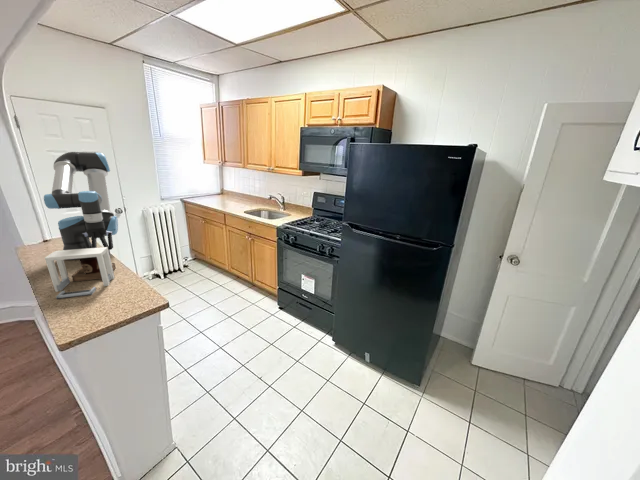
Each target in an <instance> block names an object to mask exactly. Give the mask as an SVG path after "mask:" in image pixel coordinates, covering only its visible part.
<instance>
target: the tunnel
mask: <svg viewBox="0 0 640 480" xmlns="http://www.w3.org/2000/svg"><path fill="white" fill-rule="evenodd" d="M103 256H104V257H103ZM89 257H97V260H98V264H99V268H100V272H101V277H102V279H101V280H102V283H103V287H106V286H107V287H108V286H110V284H111V282H110V281H111V280H114V279H115V272H114V271H113V268H112V263H113V262H112V260H111V254H110V255H109V250H108V247H104V246H101V248H98V247H97V248H87V249H73V250H63V249H62V250H60V249H59V250H55V251H53V252H51V253H50V254H48V255H47V256H45V257H44V260H45V263H46V266H47V269H48V272H49V276H50V279H51V281H52V285H53V288H54V292H61V291H63V289H65V287H67V286H68V285H69V284H70V283H71V281H70V278H69V274H68V271H67V267H66V263H65V259H77V258H89ZM77 260H78V259H77ZM104 260H105V262H104ZM55 261H56V264H57V266H56V264H55ZM105 264H106V266H105ZM57 267H58V268H57ZM106 268H107V269H106ZM57 269H58V270H57ZM58 271H59V274H58ZM107 273H108V274H107ZM59 275H60V276H59ZM60 277H61V280H60Z"/></svg>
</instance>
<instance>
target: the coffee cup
mask: <svg viewBox="0 0 640 480" xmlns="http://www.w3.org/2000/svg"><path fill="white" fill-rule="evenodd" d="M77 260H79V262H80V263H79V264H80V266H81V267H82V268H83V271H84V273H83V274H90V273H100V268H99V264H98V260H97V257H89V258H78V259H77Z"/></svg>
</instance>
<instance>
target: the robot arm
mask: <svg viewBox="0 0 640 480" xmlns="http://www.w3.org/2000/svg"><path fill="white" fill-rule="evenodd" d="M53 170H54V177H53V182H52V189H51V193H47V194H44V195H43V202H44V205H45V206H46V208H48V209H50V210H51V209H58V210H60V209H74V208H76V209H77V208H80V209H81V211H82V215H76V216H75V215H74V216H70V217H66V218H62V219H60V220H59V221H58V223H57V226H58V230H59V233H60V234H59V235H60V237H61V241H62V244H63V248H62V250H73V249H87V248H98V246H97V245H98V244H97V243H98V242H97V239H99V240H100V242H101V243H102V247H108V250H109V255H110V256H111V251H110V250H113V249H114V244H113V243H114V242H113V236H114V235H117V234H118V231H119V222H118V221H119V219H118V216H116V215H115V214H114V213H113V212H111V209H110V208H111V207H110V201H109V194H108V187H107V181H106V177H107V176H108V173H110V171H111V168H110V165H109V163H108V160H107V157H106V155H105V154H104V153H103V152H96V151H94V152H93V151H92V152H86V151H85V152H84V151H83V152H82V151H69V152H65V153H63V154H61V155H59V156H58V157H57V158H56V159H55V161H54V162H53ZM76 172H83V175H85V176H86V177H87V185H88V190H84V191H83V190H82V191H79V192H78V193H77V192H76V193H75V192H74V193H73V183H74V175H75V174H76ZM106 237H107V239H106ZM90 238H91V240H90ZM69 260H70V261H73V260H75V261H76V260H79V259H78V258H77V259H64V261H69Z"/></svg>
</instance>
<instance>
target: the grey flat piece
mask: <svg viewBox="0 0 640 480" xmlns="http://www.w3.org/2000/svg"><path fill="white" fill-rule="evenodd" d="M96 291H97V288H96V286H93V287H92V288H91V289H83V290H73V291H67V292H65V290H61V291H59V293H58V294H57V295H55V298H56V300H61V299H63V300H64V299H70V298H71V299H72V298H78V297H87V296H93V294H94V293H95V292H96Z"/></svg>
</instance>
